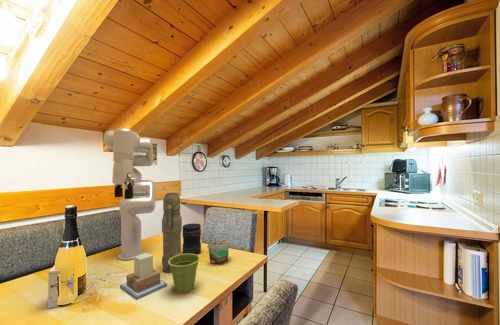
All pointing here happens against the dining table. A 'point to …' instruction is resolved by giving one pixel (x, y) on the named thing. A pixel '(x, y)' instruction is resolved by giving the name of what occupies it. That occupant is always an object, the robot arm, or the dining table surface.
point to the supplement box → (53, 287)
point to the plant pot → (184, 271)
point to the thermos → (171, 229)
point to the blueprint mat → (144, 292)
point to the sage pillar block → (143, 265)
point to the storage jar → (191, 239)
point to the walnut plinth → (143, 281)
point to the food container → (219, 252)
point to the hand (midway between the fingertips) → (123, 197)
